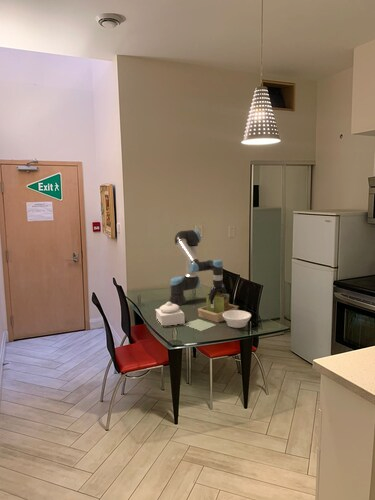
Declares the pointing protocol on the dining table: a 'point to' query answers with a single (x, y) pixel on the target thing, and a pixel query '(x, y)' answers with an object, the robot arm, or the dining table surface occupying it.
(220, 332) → the dining table surface
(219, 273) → the robot arm
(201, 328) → the mat
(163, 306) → the butter dish
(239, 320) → the bowl
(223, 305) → the protein box
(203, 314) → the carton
